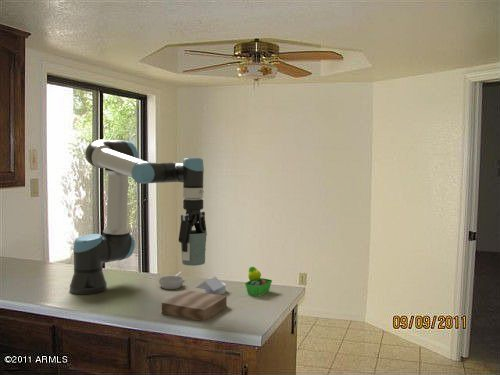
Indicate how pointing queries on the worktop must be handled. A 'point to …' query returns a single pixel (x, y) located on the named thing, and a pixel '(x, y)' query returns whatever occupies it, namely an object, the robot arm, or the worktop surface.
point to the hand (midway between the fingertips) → (193, 257)
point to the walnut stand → (194, 305)
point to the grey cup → (196, 248)
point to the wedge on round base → (213, 286)
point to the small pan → (171, 281)
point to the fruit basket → (257, 283)
